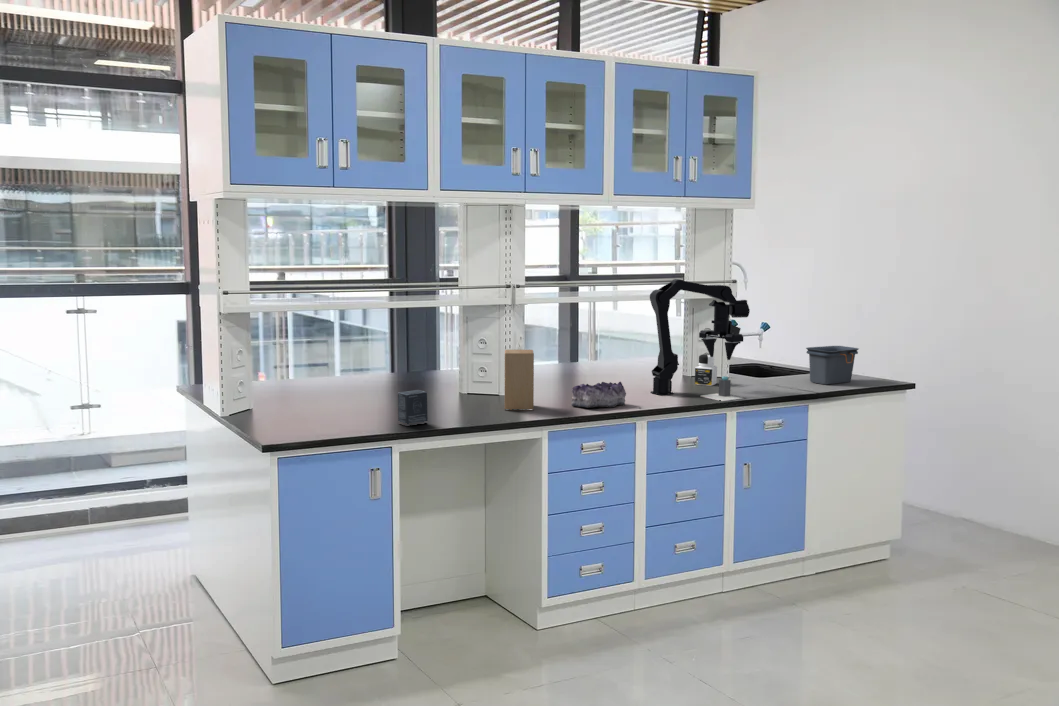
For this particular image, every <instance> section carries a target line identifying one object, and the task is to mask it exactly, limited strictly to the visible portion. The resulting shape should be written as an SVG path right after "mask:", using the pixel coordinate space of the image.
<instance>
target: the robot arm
mask: <svg viewBox="0 0 1059 706" xmlns="http://www.w3.org/2000/svg"><path fill="white" fill-rule="evenodd" d="M680 291H685V292H691V293H696V294H702V295H705V296H708V297H710V298H713V300H712V301H711V302H710V303H709V304H708V306H709V307H713V308H714V309H713V319H712V320H711V324H713V330H712V329H702V330H700V331H699V333H698V338H700V339H701V341H702V342H703V344H704V346H705V347H706V350H707V352H708V355H710V357H713V356H714V353H715V343H716V342H717V340H718V339H722V340H723V339H724V341H725V342H724V347H725V354H726V359H727V360H728V361H731V359H732V356H733V353H734V351H735V348H736V347H737V346H738V345H740V344H741V343H742V342H744V335H743V334H742V333H740V332H741V330H742V329H741V327H739V326H737V325H733V322H732V320H730V316H731V318H732V319H733V318H734V319H735V318H736V319H737V318H748V317H749V314H750V310H751V309H750V305H749V303H748V300H747V299H740V300H738V299H736V298H735V296H734V294H733V291H732V288H731V287H730V286H728V285H725V284H702V283H697V282H692V281H686V280H683V279H677V278H674V279H672V280H671V281H670V282H668V283H667V284H665V285H663V286H660V288H658V289H655V290H652V292H651V293H650V295H649V301H650V304H651V307H652V309H653V311H654V314H655V319H656V320H655V321H656V330H657V336H658V347H659V351H658V355H657V364H656V366H655V367H654V368H652V370H651V375H652V377H653V378H652V379H653V380H652V384H653V385H652V390H651V391H650V394H654V395H659V396H665V395H673V394H674V392H673V391H672V389H673V388H672V386H673V385H672V384H673V383H672V380H673V377H674V375H675V373H676V372H677V371H678V368H679V367H678V366H680V363H679V355H678V354H677V353H674V352H673V347H672V341H671V340H672V339H671V332H670V331H671V330H670V322H669V315H668V314H669V311H670V310H669V309H670V307H671V306H670V303H671V299H672V298H674V297H675V296H676V295H677V294H678V293H679V292H680ZM717 300H718V301H717ZM727 303H728V304H727Z"/></svg>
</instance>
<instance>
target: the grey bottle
mask: <svg viewBox="0 0 1059 706" xmlns="http://www.w3.org/2000/svg"><path fill="white" fill-rule="evenodd" d="M731 384H732V382H731V380H730V379H729V376H726V375H724V376H723V375H722V376H721V379H718V393H719V396H723V397H726V396H730V394H731Z"/></svg>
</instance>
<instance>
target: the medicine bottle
mask: <svg viewBox="0 0 1059 706" xmlns="http://www.w3.org/2000/svg"><path fill="white" fill-rule="evenodd" d="M717 381H718V366H717V365H715V356H714V355H713V357H710V354H709V353H708V354H700V355H699V356H698V365H697V366H695V367H694V385H696V386H708V387H712V386H714V385H716V384H718V383H717Z"/></svg>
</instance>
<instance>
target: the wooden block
mask: <svg viewBox="0 0 1059 706" xmlns="http://www.w3.org/2000/svg"><path fill="white" fill-rule="evenodd" d="M534 360H535V355H534V350H533V349H505V350H504V410H505V409H510V410H509V411H513V410H512V409H533V410H534V403H535V402H534V400H535V399H534V396H535V395H534V393H535V392H534V391H535V390H534V389H535V387H534V380H535V378H534V375H535V373H534V372H535V369H534V366H535V365H534V364H535V361H534Z"/></svg>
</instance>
